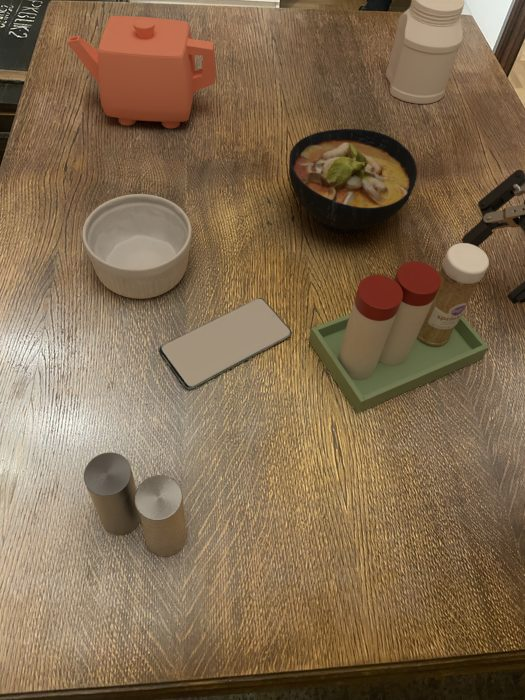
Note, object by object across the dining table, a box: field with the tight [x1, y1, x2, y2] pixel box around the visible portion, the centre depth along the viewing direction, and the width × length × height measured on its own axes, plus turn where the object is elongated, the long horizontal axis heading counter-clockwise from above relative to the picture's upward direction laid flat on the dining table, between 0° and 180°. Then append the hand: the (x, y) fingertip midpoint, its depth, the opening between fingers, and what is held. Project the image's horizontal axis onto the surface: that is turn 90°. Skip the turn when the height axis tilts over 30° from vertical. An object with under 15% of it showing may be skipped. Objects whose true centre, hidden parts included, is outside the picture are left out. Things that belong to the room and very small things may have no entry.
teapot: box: [67, 15, 217, 129], centre depth 94 cm, size 22×13×14 cm, turn 89°
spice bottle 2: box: [379, 260, 441, 366], centre depth 68 cm, size 5×5×13 cm
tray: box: [308, 313, 490, 414], centre depth 73 cm, size 18×11×3 cm, turn 117°
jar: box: [385, 0, 465, 105], centre depth 103 cm, size 12×10×15 cm
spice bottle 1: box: [337, 274, 403, 380], centre depth 66 cm, size 5×5×13 cm
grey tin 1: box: [83, 452, 141, 536], centre depth 56 cm, size 4×4×10 cm
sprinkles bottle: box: [417, 242, 490, 346], centre depth 70 cm, size 5×5×13 cm
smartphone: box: [158, 297, 292, 390], centre depth 73 cm, size 7×1×15 cm
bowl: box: [288, 128, 418, 235], centre depth 84 cm, size 17×17×10 cm
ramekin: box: [81, 193, 193, 300], centre depth 76 cm, size 13×13×7 cm
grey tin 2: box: [134, 474, 188, 558], centre depth 55 cm, size 4×4×10 cm
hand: (486, 274), depth 70 cm, fingers open, 8 cm apart
